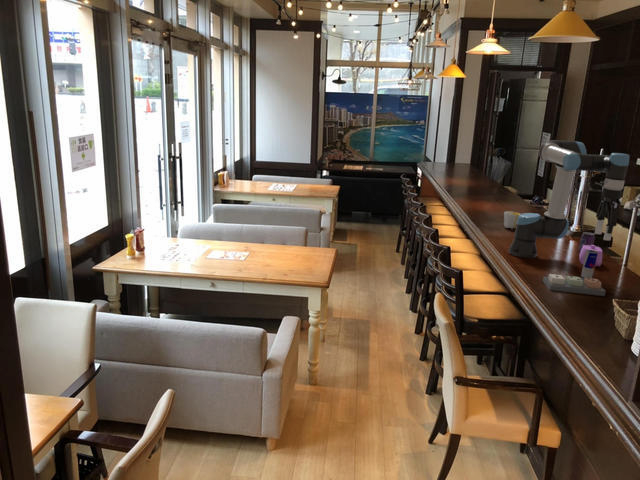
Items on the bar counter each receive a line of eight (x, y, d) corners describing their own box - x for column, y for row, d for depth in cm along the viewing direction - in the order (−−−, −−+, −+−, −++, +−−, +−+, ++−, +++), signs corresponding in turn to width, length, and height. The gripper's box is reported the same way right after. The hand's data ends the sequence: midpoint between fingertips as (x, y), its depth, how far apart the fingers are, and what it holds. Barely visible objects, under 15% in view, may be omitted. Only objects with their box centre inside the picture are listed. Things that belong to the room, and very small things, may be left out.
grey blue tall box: (588, 282, 252) (594, 252, 248) (578, 278, 256) (584, 250, 252) (593, 280, 255) (600, 251, 251) (583, 277, 259) (589, 248, 255)
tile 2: (565, 281, 244) (566, 275, 243) (578, 283, 243) (579, 276, 242) (569, 285, 239) (570, 279, 238) (581, 287, 238) (583, 280, 237)
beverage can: (576, 250, 307) (580, 231, 303) (589, 252, 305) (593, 232, 302) (579, 254, 300) (584, 234, 297) (593, 255, 299) (597, 235, 295)
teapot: (576, 256, 294) (579, 239, 291) (596, 259, 291) (600, 242, 288) (581, 266, 277) (585, 247, 274) (603, 269, 274) (607, 250, 272)
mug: (502, 228, 349) (505, 213, 346) (501, 225, 358) (503, 210, 355) (523, 231, 346) (526, 216, 343) (521, 227, 356) (524, 212, 353)
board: (542, 281, 249) (543, 276, 248) (595, 286, 246) (596, 282, 245) (549, 290, 237) (550, 285, 237) (604, 296, 234) (605, 291, 233)
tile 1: (547, 279, 245) (549, 273, 244) (560, 281, 244) (561, 274, 243) (551, 283, 240) (552, 277, 239) (563, 285, 239) (565, 278, 238)
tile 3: (583, 283, 243) (584, 277, 242) (595, 284, 242) (597, 278, 241) (587, 287, 238) (588, 281, 237) (600, 289, 237) (601, 282, 236)
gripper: (594, 183, 239) (585, 230, 245) (613, 192, 217) (602, 242, 223) (611, 185, 238) (601, 231, 244) (632, 194, 216) (621, 244, 222)
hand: (602, 236), depth 233 cm, fingers open, 10 cm apart
